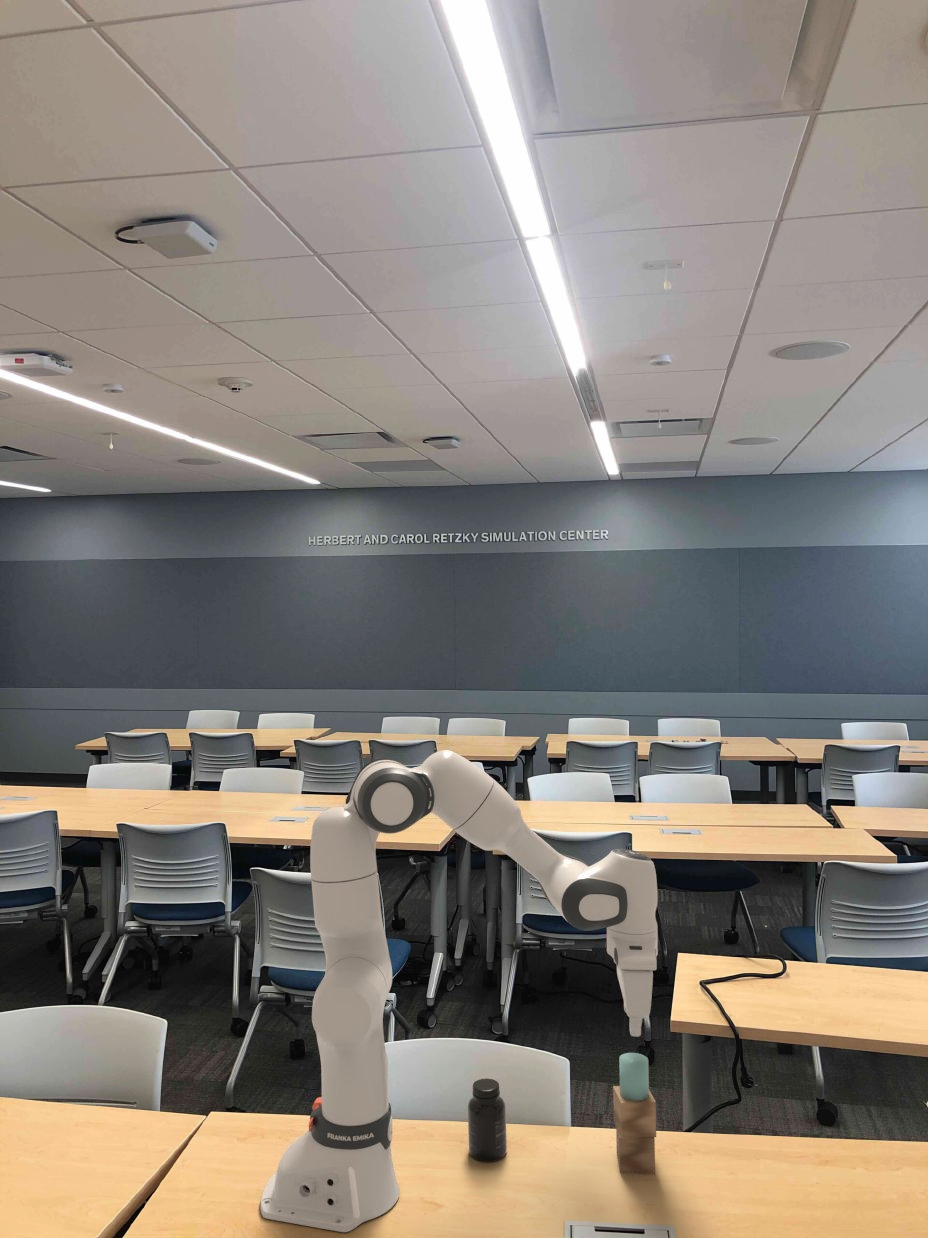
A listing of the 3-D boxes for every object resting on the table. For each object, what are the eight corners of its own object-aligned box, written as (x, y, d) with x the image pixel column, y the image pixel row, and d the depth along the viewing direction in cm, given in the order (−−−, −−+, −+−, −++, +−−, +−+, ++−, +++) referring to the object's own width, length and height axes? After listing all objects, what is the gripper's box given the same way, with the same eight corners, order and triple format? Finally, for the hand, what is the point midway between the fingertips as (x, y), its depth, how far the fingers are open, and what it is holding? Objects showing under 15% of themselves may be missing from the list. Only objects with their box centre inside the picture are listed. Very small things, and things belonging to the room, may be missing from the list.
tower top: (621, 1139, 152) (621, 1103, 152) (613, 1120, 158) (613, 1086, 158) (656, 1137, 153) (655, 1101, 153) (646, 1119, 159) (646, 1084, 159)
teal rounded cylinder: (621, 1101, 153) (620, 1065, 154) (618, 1086, 158) (618, 1052, 159) (650, 1102, 153) (649, 1066, 153) (647, 1087, 158) (646, 1053, 158)
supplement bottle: (498, 1139, 164) (497, 1073, 164) (512, 1159, 157) (511, 1090, 158) (463, 1146, 161) (462, 1079, 162) (475, 1167, 155) (474, 1096, 155)
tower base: (619, 1173, 152) (619, 1138, 153) (616, 1153, 158) (616, 1119, 159) (655, 1175, 152) (654, 1139, 152) (650, 1155, 158) (650, 1120, 158)
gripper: (609, 924, 167) (609, 999, 167) (619, 963, 147) (619, 1048, 146) (643, 925, 167) (643, 1000, 166) (658, 964, 146) (658, 1049, 146)
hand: (632, 1023), depth 156 cm, fingers open, 8 cm apart
